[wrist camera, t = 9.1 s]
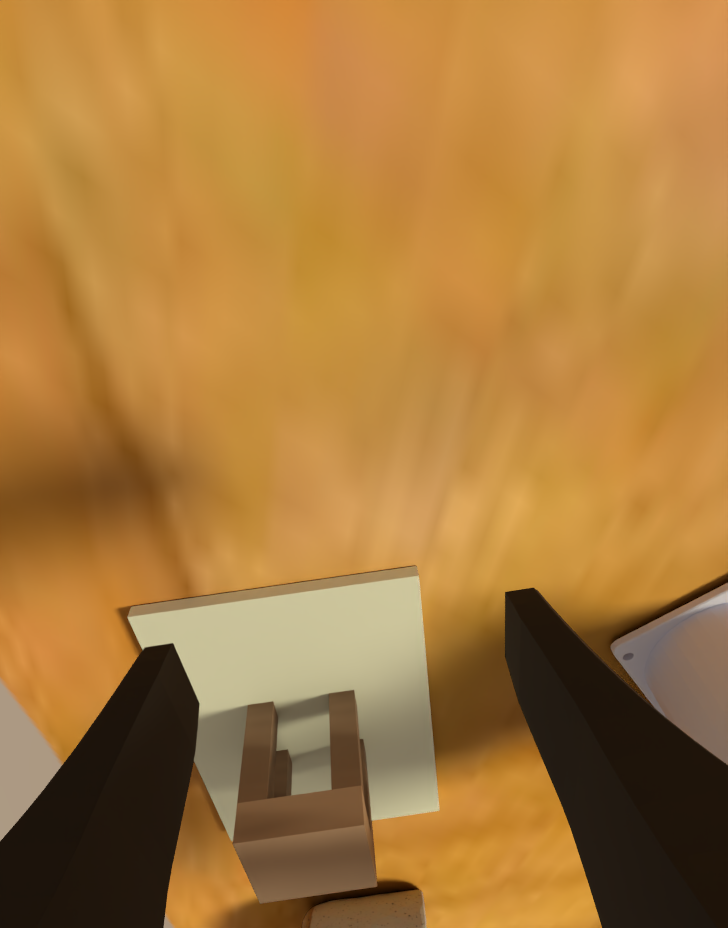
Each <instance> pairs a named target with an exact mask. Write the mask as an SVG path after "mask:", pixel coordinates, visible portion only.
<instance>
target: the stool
mask: <svg viewBox="0 0 728 928" xmlns="http://www.w3.org/2000/svg"><path fill="white" fill-rule="evenodd" d="M329 724H330V757H331V789H332V790H326V791H319V792H312V793H305V794H298V795H291V788H292V761H291V758H290V754H289V751H288V749H287V750H280V751H276V748H277V729H278V715H277V712H276V708H275V705H274V702H273V701H272V702H265V703H258V704H251V705H248V707H247V716H246V726H245V735H244V744H243V753H242V763H241V772H240V781H239V790H238V799H237V809H236V818H235V827H234V836H233V846H234V848H235V850H236V852H237V854H238V857H239V859H240V861H241V863H242V865H243V868H244V870H245V872H246V874H247V876H248V879H249V881H250V883H251V885H252V887H253V889H254V892H255V894H256V896H257V898H258V900H259V903H260V904H262V903H268V902H275V901H282V900H289V899H296V898H303V897H310V896H317V895H323V894H330V893H337V892H344V891H351V890H358V889H365V888H372V887H377V876H376V864H375V853H374V841H373V830H372V818H371V807H370V795H369V784H368V772H367V761H366V751H365V746H364V740H363V739H360V737H359V724H358V712H357V703H356V698H355V692H354V690H349V691H342V692H335V693H329Z"/></svg>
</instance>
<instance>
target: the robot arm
mask: <svg viewBox="0 0 728 928" xmlns="http://www.w3.org/2000/svg"><path fill="white" fill-rule="evenodd" d="M610 648H611V651H612V653H613V654H614V656H615V657H616V659H617V660H618V661H619V662H620V664H621V665H622V666H623V668H624V669H625V670H626V671H627V673H628V674H629V675H630V677H631V678H632V679H633V680H634V682H635V683H636V684H637V686H638V687H639V688H640V690H641V691H642V692H643V693H644V695H645V696H646V697H647V699H648V700H649V701H650V702H651V704H652V705H653V706H654V707H653V706H652V705H651V704H649V703H648V702H647V701H646V700H645V699H644V698H643V697H641V696H640V695H639V694H638V693H637V692H636V691H635V690H634V689H632V688H631V687H630V686H629V685H628V684H627V683H626V682H625V681H624V680H623V679H621V678H620V677H619V676H618V675H617V674H616V673H615V672H614V671H613V670H612V669H611V668H610V667H609V666H608V665H607V664H606V663H605V662H604V661H603V660H602V659H601V658H600V657H599V656H598V655H597V654H596V653H595V652H594V651H593V650H592V649H591V648H590V647H589V646H588V645H587V644H586V643H585V642H584V641H583V640H582V639H581V638H580V637H579V636H578V635H577V634H576V633H575V632H574V631H573V630H572V629H571V628H570V627H569V625H568V624H567V623H566V622H565V621H564V620H563V619H562V618H561V617H560V616H559V615H558V613H557V612H556V611H555V610H554V609H553V608H552V607H551V605H550V604H549V603H548V602H547V601H546V600H545V599H544V597H543V596H542V595H541V594H540V593H539V591H537V590H536V589H534V588H529V589H522V590H516V591H509V592H505V658H506V661H507V665H508V668H509V671H510V675H511V678H512V682H513V685H514V688H515V692H516V695H517V698H518V701H519V704H520V706H521V709H522V711H523V714H524V716H525V719H526V721H527V723H528V726H529V728H530V731H531V733H532V735H533V738H534V740H535V743H536V745H537V747H538V750H539V752H540V754H541V757H542V759H543V762H544V764H545V766H546V769H547V771H548V773H549V776H550V778H551V780H552V783H553V785H554V788H555V790H556V792H557V795H558V797H559V799H560V802H561V804H562V807H563V809H564V812H565V815H566V817H567V820H568V823H569V825H570V828H571V831H572V834H573V837H574V840H575V843H576V846H577V849H578V852H579V855H580V858H581V861H582V864H583V868H584V871H585V874H586V877H587V880H588V883H589V886H590V889H591V893H592V896H593V899H594V902H595V905H596V909H597V912H598V915H599V918H600V922H601V925H602V928H728V583H726V584H724V585H722V586H720V587H718V588H716V589H714V590H712V591H710V592H708V593H706V594H705V595H703V596H701V597H699V598H697V599H695V600H693V601H691V602H689V603H687V604H685V605H683V606H681V607H679V608H677V609H675V610H673V611H671V612H669V613H667V614H666V615H664V616H662V617H660V618H658V619H656V620H654V621H652V622H650V623H648V624H646V625H644V626H642V627H640V628H638V629H636V630H634V631H632V632H630V633H628V634H627V635H625V636H623V637H621V638H619V639H617V640H615V641H614V642H613V643H612V644H611V647H610ZM199 704H200V703H199V701H198V699H197V696H196V694H195V692H194V690H193V687H192V685H191V683H190V680H189V678H188V676H187V674H186V671H185V669H184V667H183V664H182V662H181V660H180V658H179V655H178V653H177V651H176V649H175V646H174V644H173V643H170V644H163V645H157V646H150V647H145V648H144V649H143V651H142V652H141V653H140V655H139V656H138V658H137V659H136V661H135V662H134V664H133V665H132V667H131V668H130V670H129V671H128V673H127V674H126V676H125V677H124V679H123V680H122V682H121V683H120V685H119V686H118V688H117V689H116V691H115V692H114V694H113V695H112V696H111V698H110V699H109V701H108V702H107V704H106V705H105V707H104V708H103V710H102V711H101V713H100V714H99V715H98V717H97V718H96V720H95V721H94V723H93V724H92V725H91V727H90V728H89V730H88V731H87V732H86V734H85V735H84V737H83V738H82V740H81V741H80V742H79V744H78V745H77V747H76V748H75V749H74V751H73V752H72V753H71V755H70V756H69V757H68V759H67V760H66V761H65V762H64V764H63V765H62V766H61V768H60V769H59V770H58V772H57V773H56V774H55V776H54V777H53V778H52V780H51V781H50V782H49V784H48V785H47V786H46V788H45V789H44V790H43V791H42V792H41V794H40V795H39V796H38V798H37V799H36V800H35V801H34V802H33V804H32V805H31V806H30V807H29V808H28V810H27V811H26V812H25V813H24V814H23V816H22V817H21V818H20V819H19V821H18V822H17V823H16V824H15V825H14V826H13V827H12V829H11V830H10V831H9V832H8V833H7V834H6V835H5V837H4V838H3V839H2V840H1V841H0V928H163V926H164V918H165V909H166V901H167V893H168V887H169V881H170V875H171V869H172V864H173V859H174V854H175V849H176V845H177V840H178V835H179V830H180V825H181V821H182V816H183V811H184V806H185V801H186V797H187V792H188V787H189V782H190V777H191V772H192V767H193V762H194V757H195V751H196V741H197V731H198V718H199Z"/></svg>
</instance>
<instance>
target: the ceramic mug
mask: <svg viewBox="0 0 728 928" xmlns="http://www.w3.org/2000/svg"><path fill="white" fill-rule="evenodd" d="M302 928H427V927H426V916H425V905H424V898H423V893H422V891H421V890H410V891H403V892H394V893H385V894H378V895H371V896H366V897H360V898H350V899H341V900H333V901H328V902H325V903H322V904H320V905H317V906H314V907H312V908H311V909H310V910H309V911H308V912H307V914H306V916H305V917H304V920H303V923H302Z"/></svg>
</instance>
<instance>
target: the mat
mask: <svg viewBox="0 0 728 928" xmlns="http://www.w3.org/2000/svg"><path fill="white" fill-rule="evenodd" d="M127 618H128V620H129V622H130V624H131V626H132V629H133V631H134V633H135V635H136V637H137V639H138V641H139V644H140V646H141V648H142V650H143V649H144V648H145V647H150V646H157V645H163V644H170V643H173V644H174V646H175V649H176V651H177V653H178V655H179V658H180V660H181V662H182V664H183V667H184V669H185V671H186V674H187V676H188V678H189V680H190V683H191V685H192V687H193V690H194V692H195V694H196V696H197V699H198V701H199V703H200V704H199V718H198V731H197V741H196V751H195V757H194V762H195V764H196V766H197V768H198V771H199V773H200V775H201V777H202V779H203V781H204V784H205V786H206V788H207V790H208V792H209V794H210V796H211V799H212V801H213V803H214V805H215V807H216V809H217V812H218V814H219V816H220V818H221V820H222V822H223V824H224V827H225V829H226V831H227V833H228V835H229V837H230V840H231V841H233V836H234V827H235V818H236V809H237V799H238V790H239V781H240V772H241V763H242V753H243V744H244V735H245V726H246V716H247V707H248V705H251V704H258V703H265V702H272V701H273V702H274V705H275V708H276V712H277V715H278V729H277V748H276V751H280V750H287V749H288V751H289V754H290V758H291V761H292V788H291V795H298V794H305V793H312V792H319V791H326V790H332V789H331V757H330V724H329V693H335V692H342V691H349V690H354V692H355V698H356V703H357V712H358V724H359V737H360V739H363V740H364V746H365V751H366V761H367V772H368V784H369V795H370V807H371V818H372V821H373V820H379V819H386V818H393V817H400V816H407V815H414V814H420V813H427V812H434V811H439V800H438V788H437V777H436V765H435V754H434V743H433V731H432V720H431V708H430V697H429V685H428V674H427V663H426V651H425V640H424V628H423V617H422V606H421V594H420V583H419V574H418V570H417V566H412V567H405V568H398V569H391V570H384V571H377V572H370V573H363V574H356V575H349V576H342V577H335V578H328V579H321V580H314V581H307V582H300V583H293V584H286V585H279V586H272V587H265V588H258V589H251V590H244V591H237V592H230V593H223V594H216V595H209V596H202V597H195V598H188V599H181V600H174V601H167V602H160V603H153V604H146V605H139V606H132V607H131V608H130V611H129V614H128V617H127Z"/></svg>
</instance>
